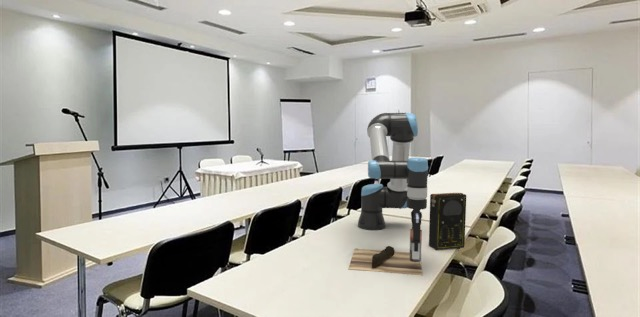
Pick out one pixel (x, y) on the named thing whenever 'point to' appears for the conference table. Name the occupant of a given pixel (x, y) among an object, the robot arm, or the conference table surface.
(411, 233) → the copper and grey cylinder
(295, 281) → the conference table surface
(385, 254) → the hand tool
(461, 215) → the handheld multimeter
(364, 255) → the plywood sheet
